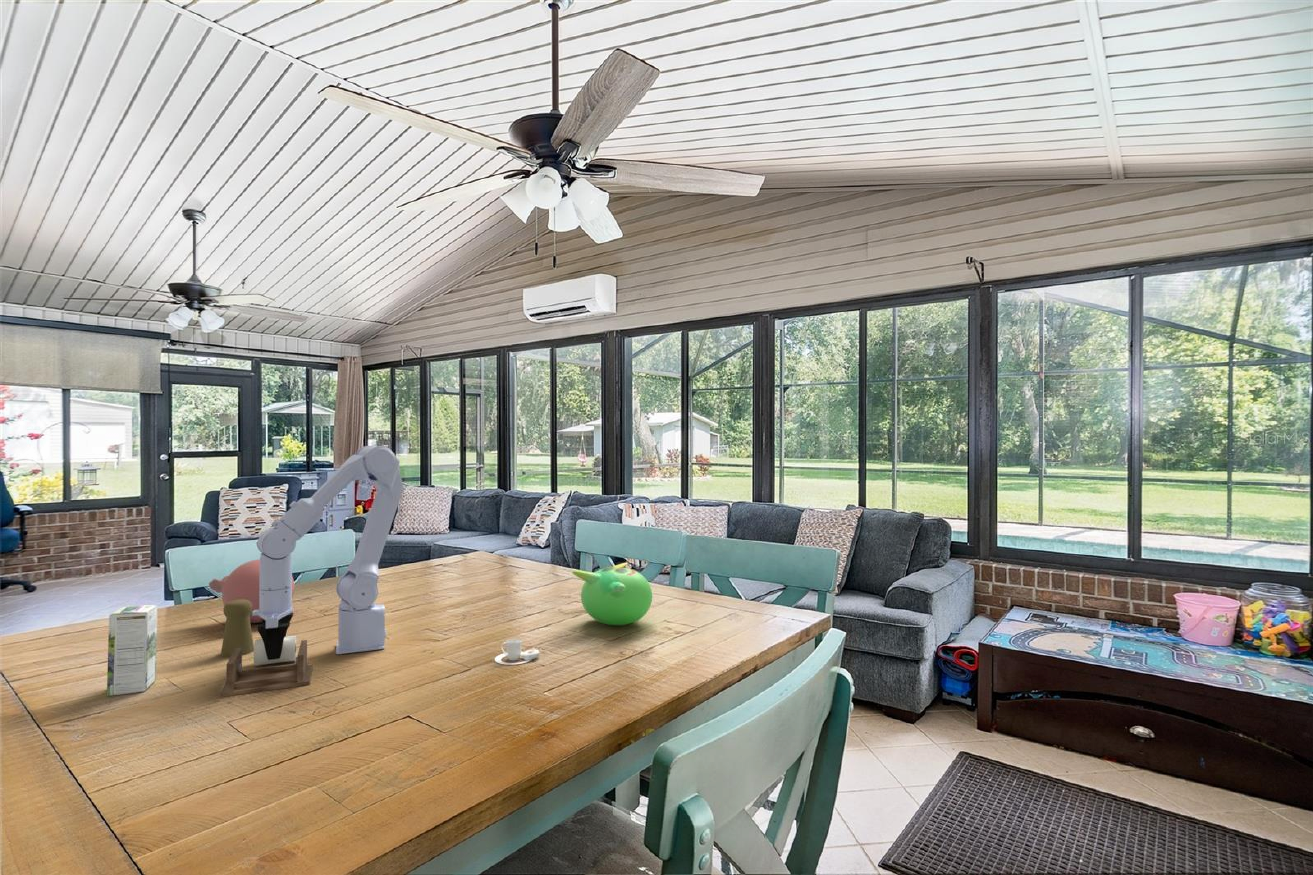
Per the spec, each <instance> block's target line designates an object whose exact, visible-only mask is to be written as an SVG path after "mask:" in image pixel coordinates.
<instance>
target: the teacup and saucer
mask: <svg viewBox="0 0 1313 875" xmlns="http://www.w3.org/2000/svg"><path fill="white" fill-rule="evenodd" d="M522 644H523V641H522V639H520V638H510V639H507V640H506V641H505V642H502V643H501V645H500V649H501V651H502V653H501V654H498V655H497V656H496V657H494V662H495V663H496V664H499V665H503V666H504V665H506V666H515V665H516V666H517V665H523V664H526V663H529V662H532V661H533V660H534V659H536V658H538V657H539V656H540V651H539V650H538V649H528V650H526V651H522ZM503 645H505V646H506V651H505V650H504V649H503ZM504 657H507V659H508V660H509V661H512V662H505V661H503V660H502V659H503V658H504ZM520 658H522V660H523V661H520V662H513V661H518V660H520Z"/></svg>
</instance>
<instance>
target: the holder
mask: <svg viewBox="0 0 1313 875" xmlns="http://www.w3.org/2000/svg"><path fill="white" fill-rule="evenodd" d="M294 662H295V663H290V664H282V665H272V666H265V667H257V668H249V669H248V668H247V669H243V655H242V647H238V648H235V650H234V652H233V654H232V655H231V657H229V659H228V661H227V663H226V668H225V669H226V674H225V675H226V676H225V677H226V678H225V679H226V681H225V683H224V685H223V686H222V688H221V690H220V692H219V698H221V697H228V696H229V697H230V696H237V695H244V694H250V693H258V692H259V693H260V692H267V691H272V690H281V689H287V688H288V689H289V688H295V687H300V686H301V687H302V686H309V685H310V684H311V679H312V674H313V666H314V665H313V664H308V639H303V640H300V644H299V648H298V652H297V654H296V659H295V661H294Z"/></svg>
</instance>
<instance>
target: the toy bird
mask: <svg viewBox="0 0 1313 875" xmlns="http://www.w3.org/2000/svg"><path fill="white" fill-rule="evenodd" d="M627 565H628V562H622V563H619V564H617V565H612V566H607V567H604V568H602V569H601V568H600V569H598V570H596V571H595V572H591V571H586V570H585V571H584V570H576V569H575V570H572V572H571V574H573V575H574V576H576V577H577V578H579V579H581V580H583V581H584V583H583V585H582V588H581V592H580V600H581V604H582V606H583V609H584V610H585V612H586V613H587V614H588V615H589V616H590V617H591V618H592V619H593V620H595V621H597V622H599V623H601V624H605V625H608V626H626V625H630V624H633V623H635V622H638V621H639V620H641V619H642V618H644V616H646V614H647V613H648V611H649V610H650V608H651V606H652V602H653V590H652V588H651V585H650V583H649V582H648V580H647V579H646V577H645V576H643V574H642V573H639V572H638V571H637V570H634V569H632V568H628V567H626V566H627Z"/></svg>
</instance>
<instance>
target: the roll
mask: <svg viewBox="0 0 1313 875" xmlns="http://www.w3.org/2000/svg"><path fill="white" fill-rule="evenodd" d="M253 645H254V651H253V666H255V667H256V666H263V665H273V664H280V663H287V662H288V663H289V662H295V661H296V657H297V635H286V637H284V641H283V647H282V653H281V656H280V659H273V660H268V658H267V655H266V651H265V646H264V642H263V640H262V638H260V639H255V641H254V644H253Z"/></svg>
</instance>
